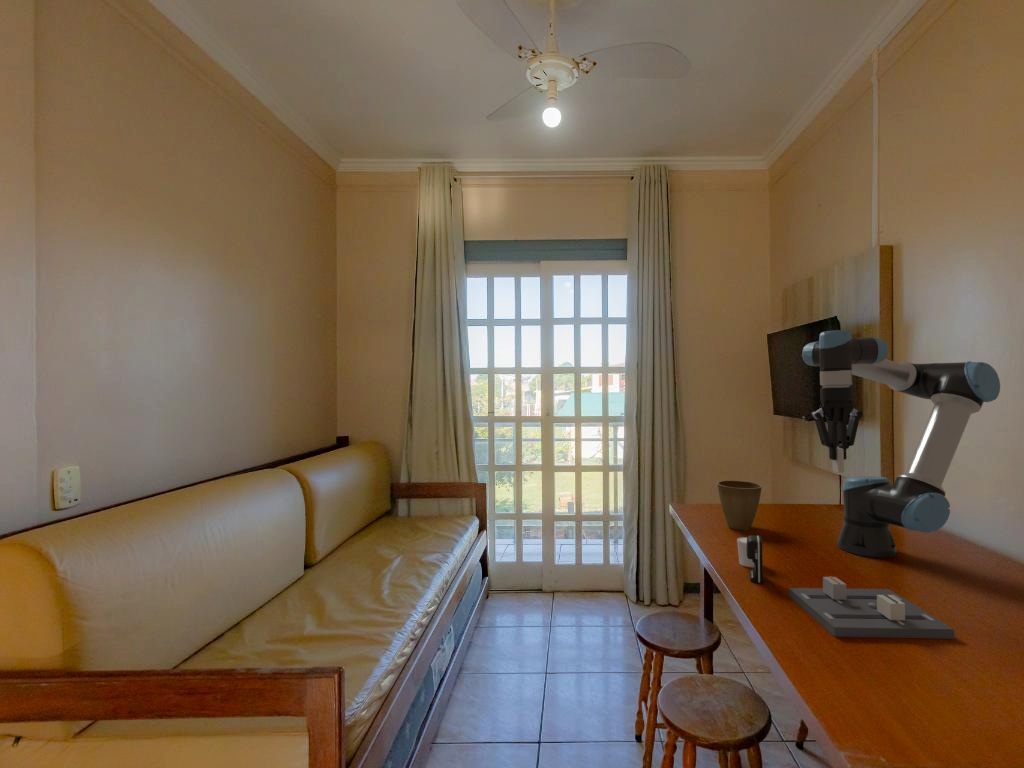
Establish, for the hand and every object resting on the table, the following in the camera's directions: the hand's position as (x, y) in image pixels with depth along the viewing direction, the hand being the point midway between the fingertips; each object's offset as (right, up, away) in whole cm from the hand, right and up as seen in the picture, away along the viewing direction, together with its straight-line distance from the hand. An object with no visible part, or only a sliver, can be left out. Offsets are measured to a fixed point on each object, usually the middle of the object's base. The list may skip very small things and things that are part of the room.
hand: (838, 471), depth 138 cm
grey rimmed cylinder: (-20, -29, +10) cm, 37 cm away
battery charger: (-24, -30, -1) cm, 38 cm away
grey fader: (-13, -27, -18) cm, 35 cm away
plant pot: (-6, -29, +46) cm, 55 cm away
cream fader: (-7, -27, -28) cm, 40 cm away
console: (-9, -29, -23) cm, 38 cm away
